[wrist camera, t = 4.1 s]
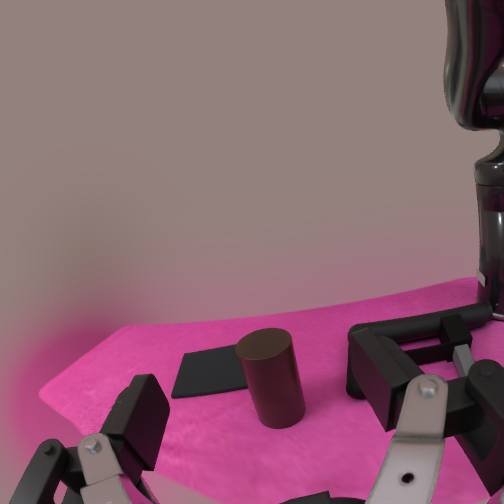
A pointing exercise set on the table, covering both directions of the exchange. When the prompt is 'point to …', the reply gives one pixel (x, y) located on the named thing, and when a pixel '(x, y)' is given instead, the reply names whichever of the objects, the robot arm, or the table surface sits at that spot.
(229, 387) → the black mat
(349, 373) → the door handle
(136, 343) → the table surface
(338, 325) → the table surface
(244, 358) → the dark brown cylinder
